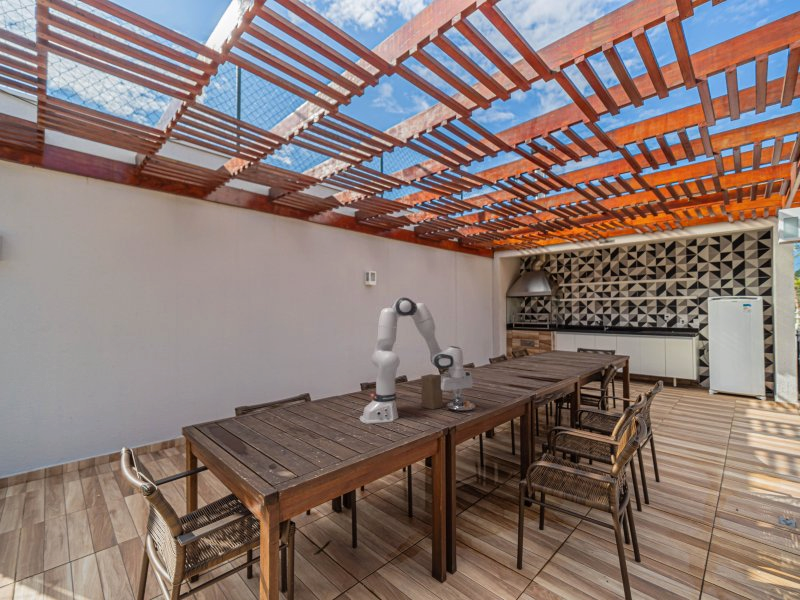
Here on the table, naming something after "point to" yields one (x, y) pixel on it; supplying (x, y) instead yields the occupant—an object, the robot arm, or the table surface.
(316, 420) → the table surface
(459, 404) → the cast cover
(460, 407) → the turntable
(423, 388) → the wooden block
